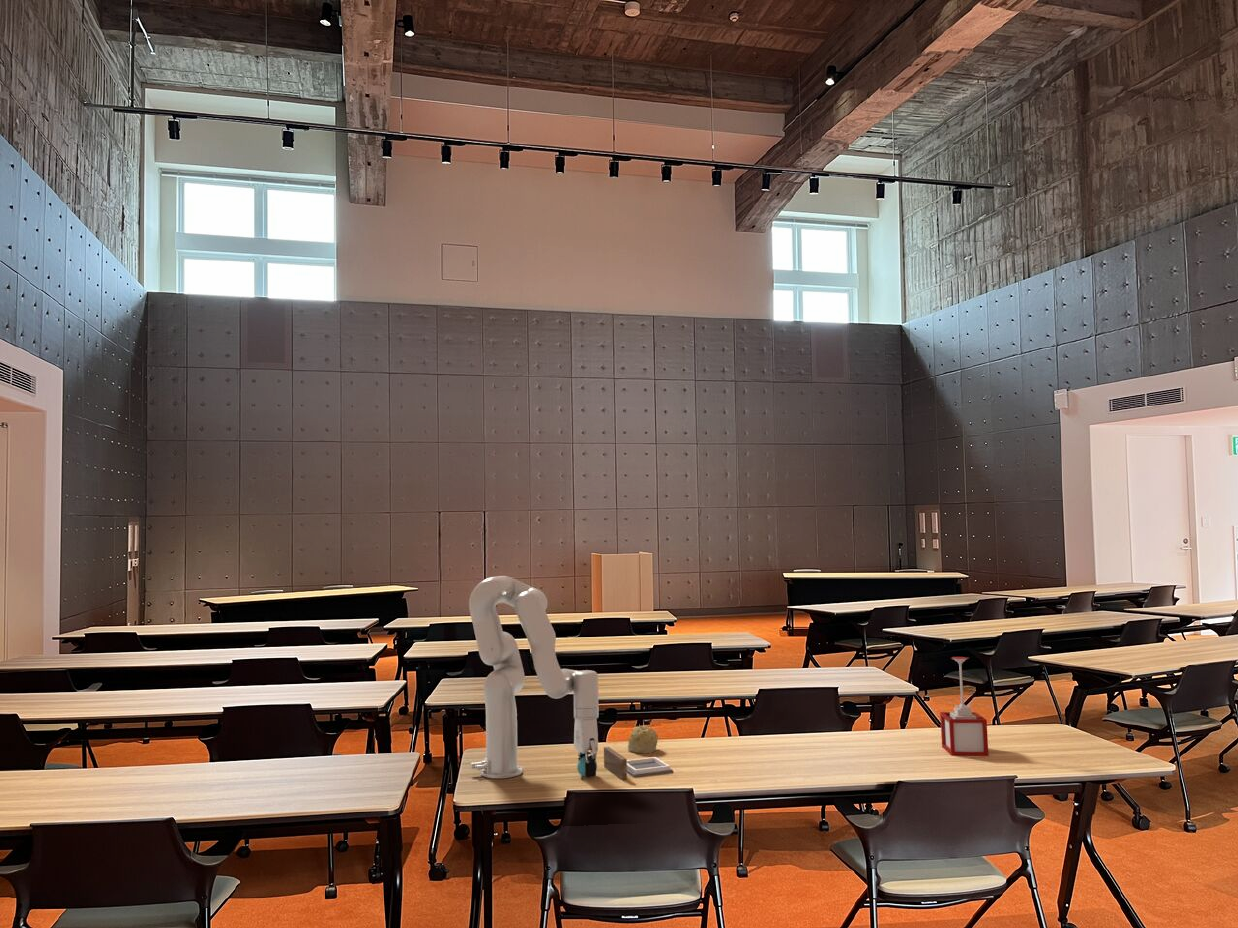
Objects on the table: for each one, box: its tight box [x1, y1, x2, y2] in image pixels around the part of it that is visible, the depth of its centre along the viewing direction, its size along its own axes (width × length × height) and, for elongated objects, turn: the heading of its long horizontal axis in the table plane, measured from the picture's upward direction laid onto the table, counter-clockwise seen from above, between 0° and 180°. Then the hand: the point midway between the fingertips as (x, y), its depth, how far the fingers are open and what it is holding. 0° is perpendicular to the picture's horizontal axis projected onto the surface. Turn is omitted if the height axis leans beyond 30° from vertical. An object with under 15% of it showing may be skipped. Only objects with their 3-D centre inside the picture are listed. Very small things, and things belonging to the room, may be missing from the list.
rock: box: [627, 725, 659, 754], centre depth 285 cm, size 10×11×10 cm
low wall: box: [603, 746, 628, 781], centre depth 258 cm, size 2×16×6 cm, turn 20°
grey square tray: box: [627, 756, 674, 778], centre depth 262 cm, size 13×13×2 cm
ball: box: [576, 756, 598, 778], centre depth 255 cm, size 6×6×6 cm
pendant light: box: [939, 656, 990, 757], centre depth 277 cm, size 11×11×30 cm
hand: (587, 772), depth 255 cm, fingers closed on ball, 5 cm apart
